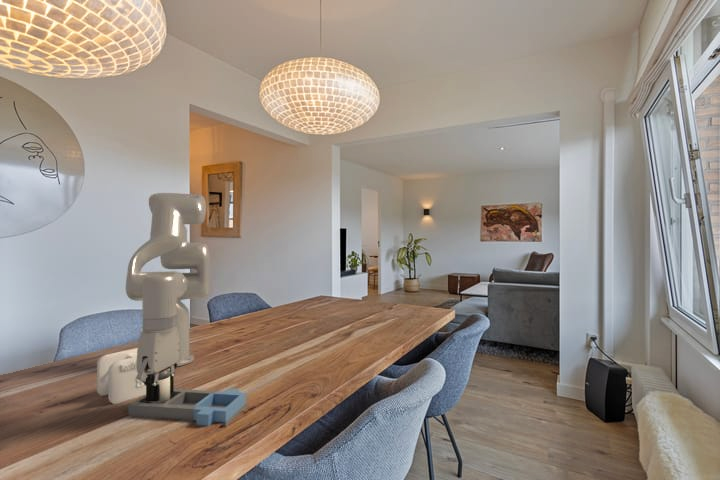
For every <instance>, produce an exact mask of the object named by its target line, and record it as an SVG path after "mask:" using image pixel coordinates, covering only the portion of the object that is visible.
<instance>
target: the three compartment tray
mask: <svg viewBox="0 0 720 480" xmlns="http://www.w3.org/2000/svg"><path fill="white" fill-rule="evenodd" d="M245 408H247V392H240V389H239V388H227V389H226V390H224V391H222V390H221V391H220V390H202V389H201V390H199V389H182V388H174V391H173V392H172V393H170V400H169V401H167V402H165V403H164V404H156V403H150V401H147V400H146V394H145V395H142V396H140V398H138V399H136V400H134V401H132V402H131V403H129V404H128V416H130V417H131V416H132V417H145V418H157V419H169V420H170V419H173V420H174V419H175V420H187V421H196V426H204V427H209V426H210V425H212V424H213V423H214V422H215V423H221V424H220V425H219V426H220V427H227V426H228V425H229V424H230V423H231V422H233V420H234V419H236V417H237V416H238V415H239V414H240V413H241V412H242V411H244V409H245Z"/></svg>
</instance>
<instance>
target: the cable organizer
mask: <svg viewBox="0 0 720 480" xmlns="http://www.w3.org/2000/svg"><path fill="white" fill-rule="evenodd" d="M137 349H138V347H135V348H132V349H127V350H126V349H125V350H121V351H117V352H113V353H107V354H104V355H102V356H101V357H99V359H97V362H96V392H97V394H98V395H99V396H101V397H104V396H107V395H108V397H107V398H108V401H109V402H110V403H112V404H113V405H115V404H120V403H122V402H126V401H128V400H129V401H130V400H131V399H135V398H139V397H143V396H145V395H146V385H144V383H143V382H142V381H140V380H138V379H136V377H137V374H138V372H137Z"/></svg>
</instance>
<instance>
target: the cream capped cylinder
mask: <svg viewBox="0 0 720 480" xmlns="http://www.w3.org/2000/svg"><path fill="white" fill-rule="evenodd" d="M150 377H151V378H152V379H153V375H150ZM157 384H159V386H160V399H159V401H157V402H155V401H150V403H156V404H164V403H165V402H167V401H169V400H170V368H166V369H164V370H162V371H160V372H159V376H158V383H157Z"/></svg>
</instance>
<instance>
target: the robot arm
mask: <svg viewBox="0 0 720 480" xmlns="http://www.w3.org/2000/svg"><path fill="white" fill-rule="evenodd" d="M148 205H149V206H148V207H149V210H150V213H151V215H152V216H151V225H150V233H149V234H150V235H149V236H150V237H149V240H148V241H145V243H143V244H142V245H141V246H140V247H139V248H138V249H137V250H136V251H135V252H134V253H133V255H131V258H130V260H129V262H128V266H127V272H126V278H125V293H126V296H127V298H129V299H130V300H131V301H137V302H139V301H141V302H142V303H141V305H142V310H141V311H142V313H141V314H142V315H141V316H142V317H141V318H142V332H140V334H139V338H138V343H137V348H138V349H137V372H138V374H137V377H136V379H138V380H140V381H142V382H143V383H144V385H146V394H145V395H146V400H147V401H155V402H157V401H159V399H160V386H159V384H157V383H158V376H159V372H160V371H162V370H164V369H166V368H170V393H172V392H173V391H174V389H175V388H174V387H175V385H174V378H175V377H174V376H175V375H176V369H177V367H181V366H184V365H188V364H190V363H193V361H194V360H195V356H194V355H193V354H191V353H190V312H189V309H188V307H187V306H186V305H185V304H184V303H183V302H182V301H183V300H185V301H186V300H194V299H195V300H196V299H204V298H207V297H208V296H209V295H210V291H211V254H210V248H209V246H208V245H207V244H206V243H204V242H188V229H187V227H186V225H202V224H203V223H204V221H205V219H206V215H207V201H206V199H205V197H204V195H202V194H199V193H198V194H195V193H177V192H175V193H174V192H157V193H153V194H151V195H150V196H149V197H148ZM158 257H160V263H161V267H163V269H166V270H169V271H144V272H143V271H142V269H143V268H144V266H145V265H146V264H147V263H148V262H150V261H152V260H153V259H157V258H158ZM170 270H172V271H170ZM173 270H195V271H196V272H195V271H194V272H181V271H173ZM150 375H153V379H152V378H151V377H150Z"/></svg>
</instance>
